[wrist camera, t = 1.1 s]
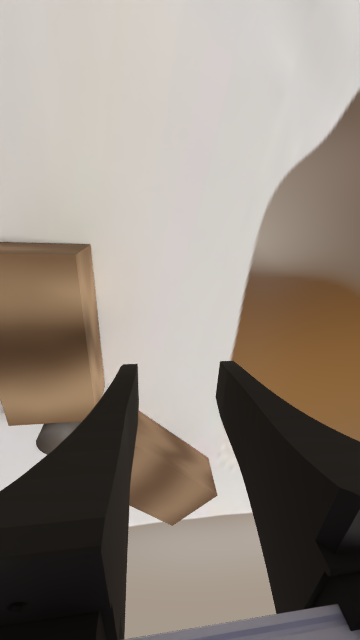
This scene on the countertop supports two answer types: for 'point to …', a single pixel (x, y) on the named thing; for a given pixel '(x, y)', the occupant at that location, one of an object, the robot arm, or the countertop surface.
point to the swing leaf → (48, 338)
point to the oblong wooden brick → (168, 474)
